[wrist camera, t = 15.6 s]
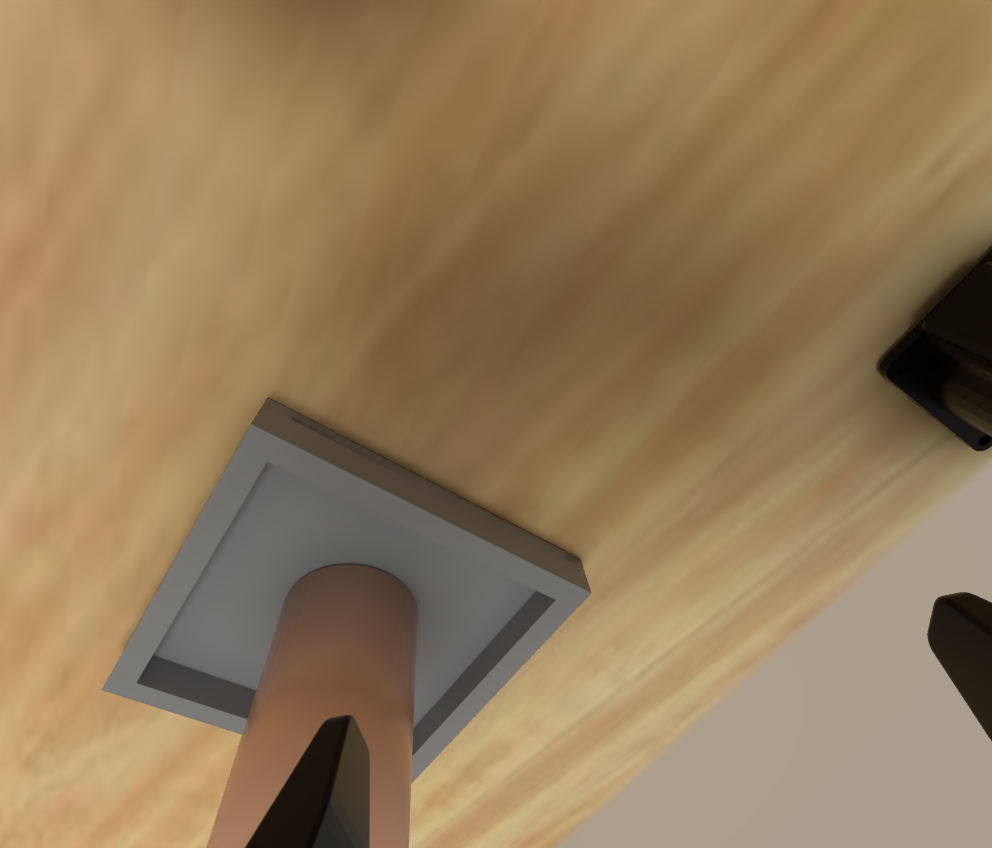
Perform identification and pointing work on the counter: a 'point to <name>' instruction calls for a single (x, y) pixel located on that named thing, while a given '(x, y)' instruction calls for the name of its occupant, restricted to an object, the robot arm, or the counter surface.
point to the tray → (339, 541)
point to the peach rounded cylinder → (331, 698)
